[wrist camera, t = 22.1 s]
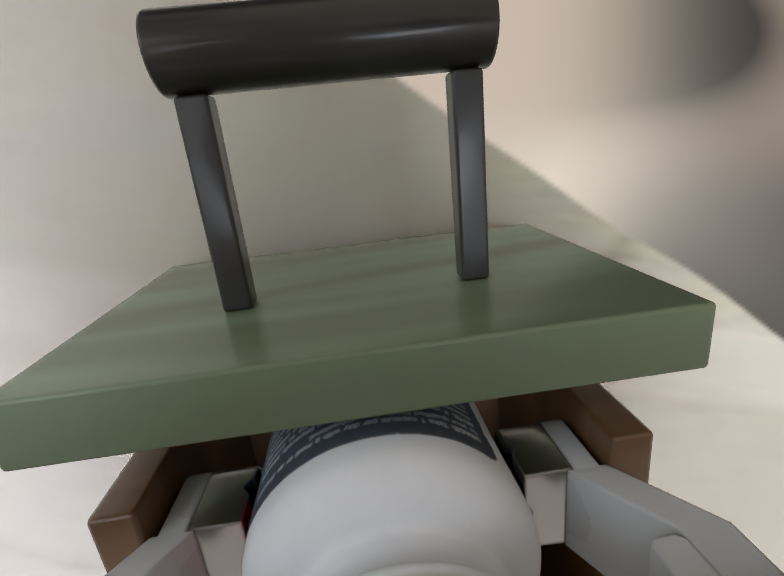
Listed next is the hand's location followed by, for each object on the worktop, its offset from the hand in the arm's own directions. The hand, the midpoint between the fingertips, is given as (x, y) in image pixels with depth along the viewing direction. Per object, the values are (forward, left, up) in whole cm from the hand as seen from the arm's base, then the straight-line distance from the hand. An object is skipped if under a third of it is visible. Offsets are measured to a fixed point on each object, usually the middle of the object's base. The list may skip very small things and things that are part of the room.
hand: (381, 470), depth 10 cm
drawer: (-1, 0, -6) cm, 6 cm away
